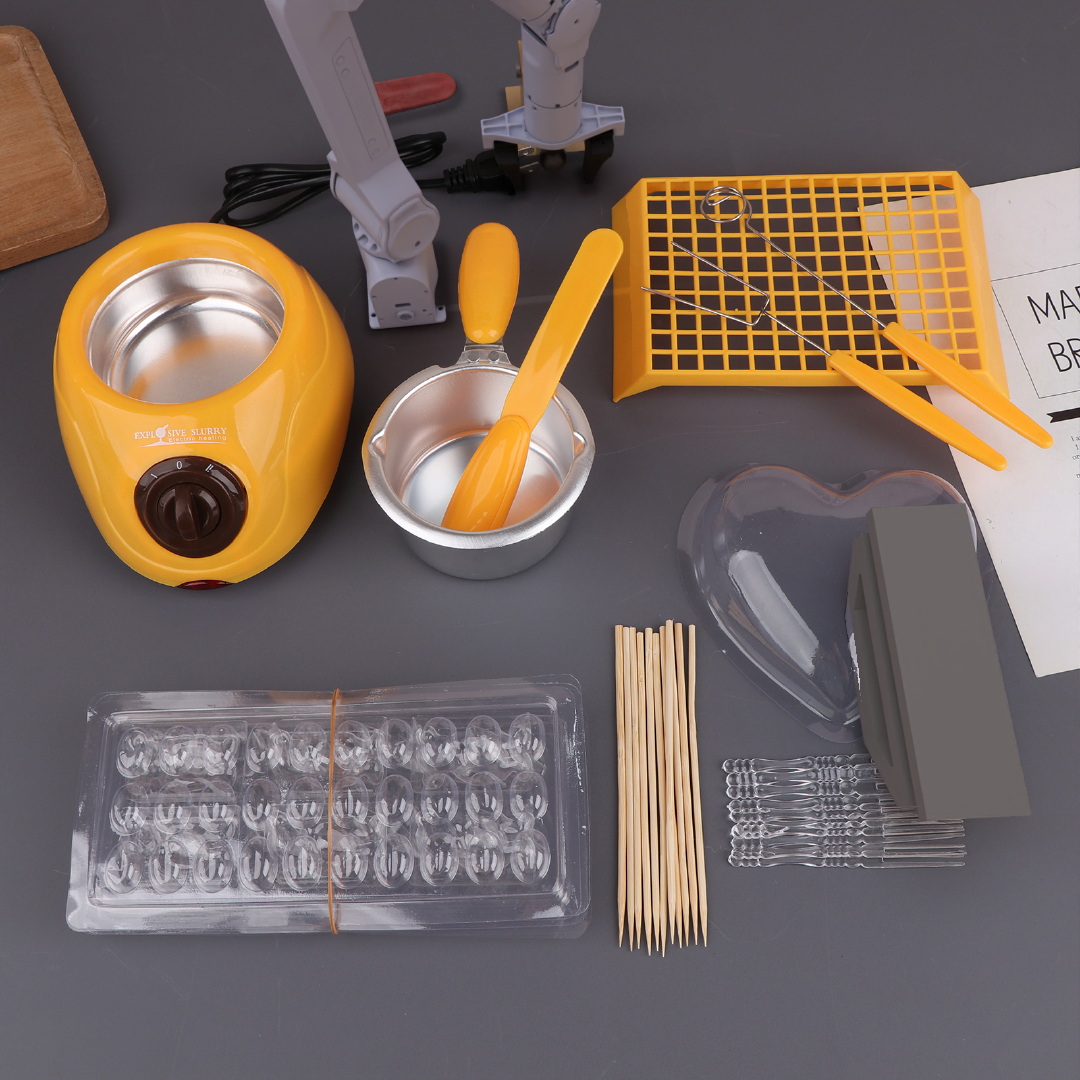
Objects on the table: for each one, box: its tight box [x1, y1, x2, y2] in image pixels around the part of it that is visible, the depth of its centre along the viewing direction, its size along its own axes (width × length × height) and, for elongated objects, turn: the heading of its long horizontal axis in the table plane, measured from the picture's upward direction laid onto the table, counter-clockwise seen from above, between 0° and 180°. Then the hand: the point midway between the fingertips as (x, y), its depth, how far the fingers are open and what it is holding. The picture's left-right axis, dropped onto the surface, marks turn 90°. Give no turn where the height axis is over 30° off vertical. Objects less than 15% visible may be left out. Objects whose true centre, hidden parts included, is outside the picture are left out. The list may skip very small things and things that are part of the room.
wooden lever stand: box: [504, 39, 585, 157], centre depth 97 cm, size 10×8×10 cm
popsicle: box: [373, 71, 457, 116], centre depth 102 cm, size 4×2×15 cm
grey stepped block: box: [846, 502, 1033, 822], centre depth 76 cm, size 25×8×11 cm, turn 3°
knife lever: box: [538, 148, 568, 174], centre depth 94 cm, size 12×3×3 cm, turn 6°
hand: (552, 184), depth 99 cm, fingers open, 7 cm apart
